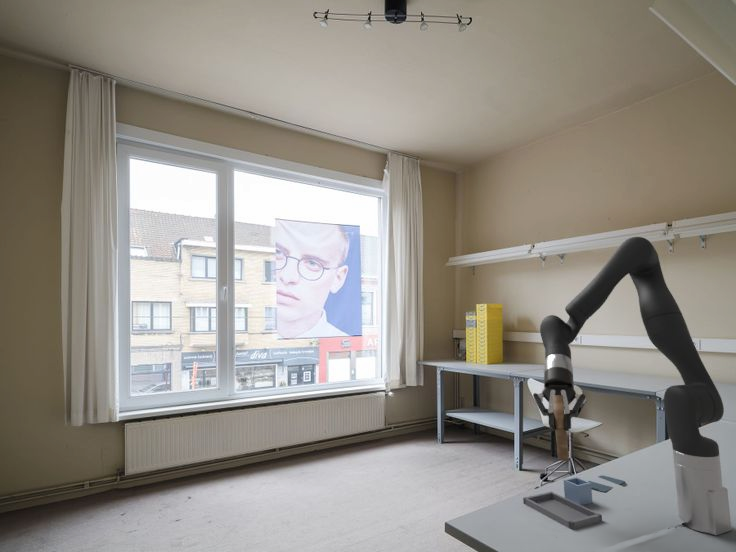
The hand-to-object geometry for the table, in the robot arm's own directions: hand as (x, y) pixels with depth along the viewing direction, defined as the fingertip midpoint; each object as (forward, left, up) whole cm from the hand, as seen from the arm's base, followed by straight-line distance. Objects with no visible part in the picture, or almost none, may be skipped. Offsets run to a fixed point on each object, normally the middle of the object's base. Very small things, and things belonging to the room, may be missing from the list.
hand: (559, 428), depth 111 cm
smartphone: (+11, -27, -23) cm, 37 cm away
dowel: (0, -1, -8) cm, 8 cm away
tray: (+2, -1, -22) cm, 22 cm away
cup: (+5, -10, -22) cm, 25 cm away
